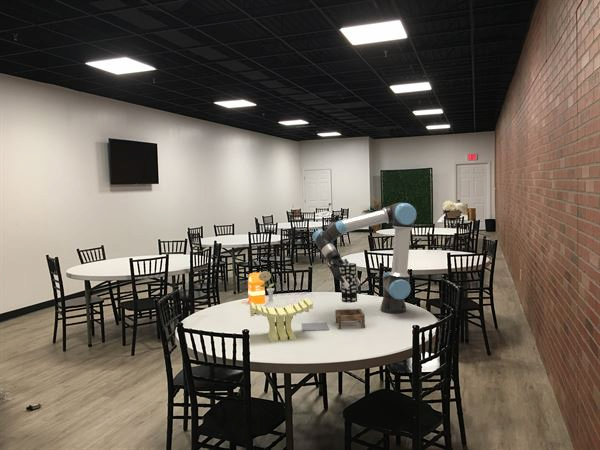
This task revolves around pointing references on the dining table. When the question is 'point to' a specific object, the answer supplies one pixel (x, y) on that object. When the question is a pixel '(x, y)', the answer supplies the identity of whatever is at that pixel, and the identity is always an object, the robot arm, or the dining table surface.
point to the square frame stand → (349, 316)
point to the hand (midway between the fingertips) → (353, 285)
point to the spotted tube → (349, 282)
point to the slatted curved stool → (281, 318)
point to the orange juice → (256, 289)
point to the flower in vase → (265, 277)
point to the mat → (315, 326)
